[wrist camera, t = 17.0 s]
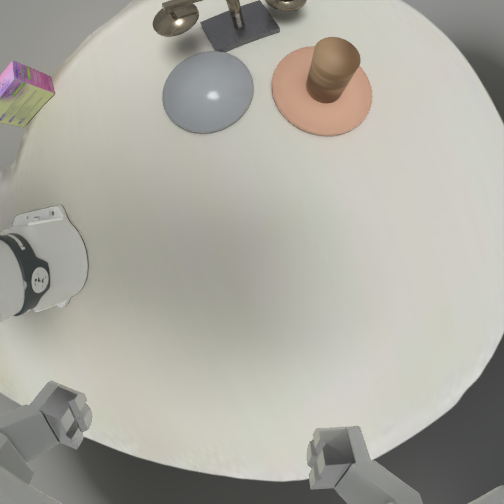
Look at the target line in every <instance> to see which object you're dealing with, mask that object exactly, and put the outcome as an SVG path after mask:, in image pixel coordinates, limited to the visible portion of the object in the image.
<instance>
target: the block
mask: <svg viewBox="0 0 504 504" xmlns="http://www.w3.org/2000/svg"><path fill="white" fill-rule="evenodd" d="M359 65H360V55H359V52H358V51H357V49H356V48H355V47H354V46H353V45H352V44H351V43H350V42H348V41H346V40H344V39H341V38H337V37H328V38H324V39H322V40H320V41H319V42H318V43H317V44H316V46H315V48H314V53H313V57H312V61H311V65H310V70H309V74H308V78H307V82H306V89H307V92H308V93H309V95H310V96H311V97H312V98H313V99H314V100H316V101H318V102H320V103H333V102H335V101H337V100H338V99H339V98H340V96H341V95H342V93H343V91H344V90H345V88H346V86H347V85H348V83H349V82H350V80H351V78H352V77H353V75H354V74H355V72H356V70H357V69H358V67H359Z"/></svg>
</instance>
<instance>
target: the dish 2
mask: <svg viewBox="0 0 504 504" xmlns="http://www.w3.org/2000/svg"><path fill="white" fill-rule="evenodd" d="M314 48H315V46H313V47H305V48H301V49H298V50H296V51H294V52H292V53H290V54H289V55H287V56H286V57H285V58H284V59H282V61H281V62H280V63H279V64H278V66H277V68H276V70H275V72H274V75H273V80H272V90H273V96H274V100H275V103H276V105H277V107H278V109H279V111H280V112H281V113H282V115H283V116H284V117H285V118H286V119H287V120H288V121H289V122H290V123H292V124H293V125H294V126H296V127H297V128H299V129H301V130H303V131H305V132H308V133H311V134H315V135H320V136H335V135H340V134H344V133H346V132H349V131H350V130H352V129H354V128H355V127H356V126H358V125H359V124H360V123H361V122H362V121H363V120H364V119H365V117H366V116H367V114H368V112H369V110H370V107H371V103H372V90H371V85H370V82H369V80H368V78H367V76H366V74H365V72H364V71H363V69H362V68H361V67H360V66H359V67H358V69H357V70H356V72H355V74H354V75H353V77H352V78H351V80H350V82H349V83H348V85H347V86H346V88H345V90H344V91H343V93H342V95H341V96H340V98H339V99H338V100H337V101H335V102H333V103H320V102H318V101H316V100H314V99H313V98H312V97H311V96H310V95H309V93H308V92H307V89H306V82H307V78H308V74H309V70H310V65H311V61H312V57H313V53H314Z"/></svg>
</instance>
